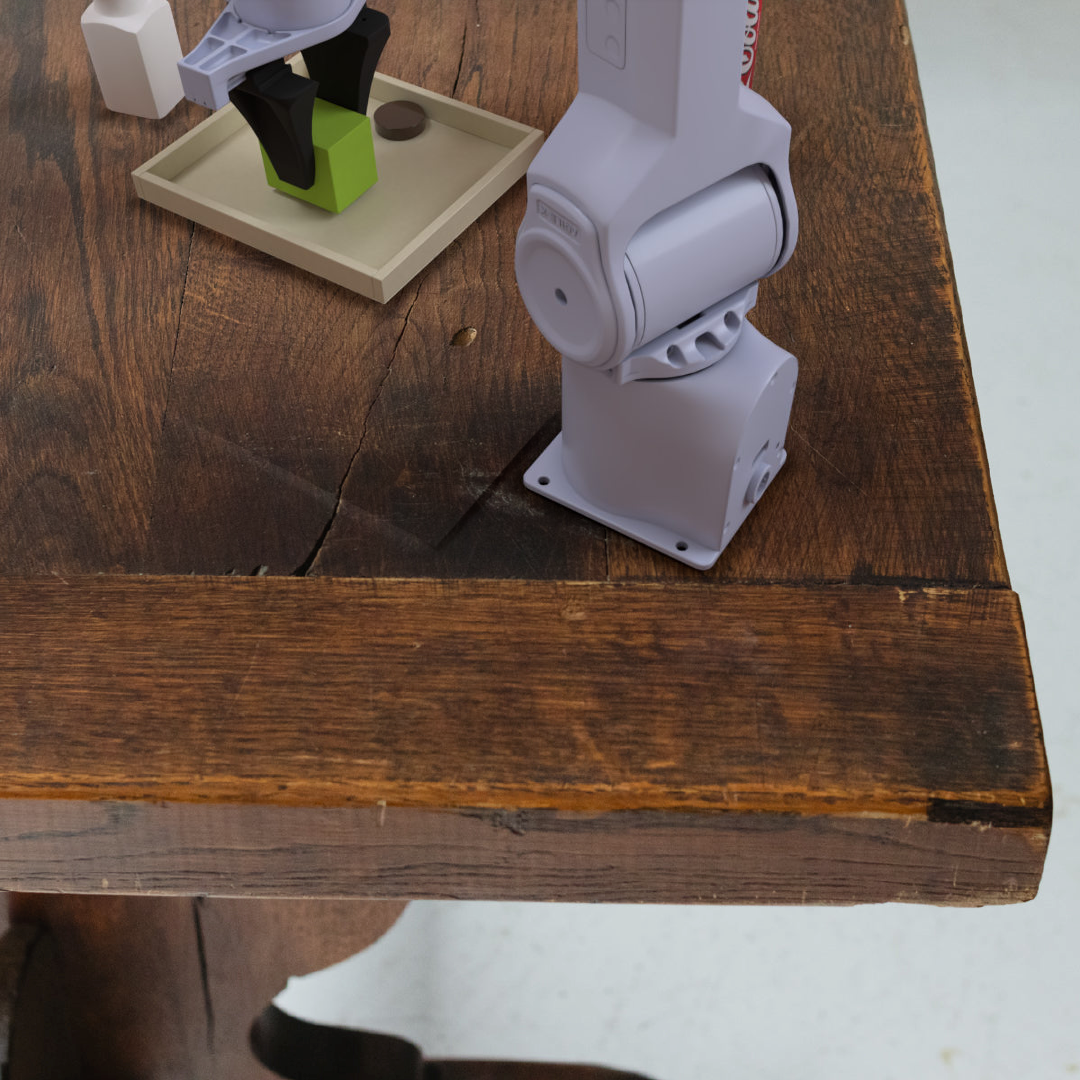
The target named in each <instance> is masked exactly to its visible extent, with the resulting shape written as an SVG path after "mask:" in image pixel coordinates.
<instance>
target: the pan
mask: <svg viewBox="0 0 1080 1080" xmlns="http://www.w3.org/2000/svg"><path fill="white" fill-rule="evenodd" d="M288 63H290V64H291V66H292V71H293V73H295V74H298V75H301V76H303V77H306V78H309V79H310V77H309V74H308V71H307V68H306V65H305V62H304V60H303V57H302V54H301V52H300V51H298V52H297V53H296V54H295V55H294V56H292V57H291V58H289V59H288V60H287V61H285V64H288ZM398 100H405V101H411V102H414V103H417V104H418V105H420V106H421V107H422V108H423V109H424V112H425V120H426V127H425V129H424V131H423V132H422V133H421V134H420V135H419V136H417V137H415V138H412V139H409V140H404V141H393V140H388V139H385V138H383V137H381V136H379V135H378V134H377V132H376V130H375V126H374V118H373V116H374V112H375V111H376V109H377V108H378V107H380V106H381V105H383V104H385V103H388V102H391V101H398ZM366 116H367V117H369V118H370V123H371V131H372V138H373V146H374V153H375V161H376V168H377V176H378V181H377V182H376V183H375V184H374V185H372V186H371V187H370V188H369V189H368V190H367V191H365V192H364V193H363V194H362V195H361V196H359V197H358V198H357V199H356V200H355V201H353V202H352V203H351V204H350V205H349V206H347V207H346V208H345V209H344V210H343V211H342V212H340V213H339V214H336V213H334V212H332V211H329V210H327V209H324V208H322V207H319V206H317V205H315V204H312V203H310V202H307V201H305V200H303V199H300V198H298V197H295V196H293V195H290V194H288V193H286V192H283V191H281V190H278V189H276V188H274V187H271V186H269V185H268V182H267V178H266V173H265V168H264V164H263V159H262V155H261V150H260V145H259V141H258V138H257V136H256V135H255V133H254V131H253V130H252V128H251V127H250V125H249V124H248V122H247V121H246V120H245V118H244V117H243V116H242V114H241V113H240V112H239V111H238V109H237V108H236V107H235V106H234V105H233V104H232V102H231V101H229V103H228V104H226V105H225V106H224V107H222V108H221V109H219V110H218V111H214V113H212V114H211V115H210V116H208V117H207V118H206V119H204V120H203V121H202V122H200V123H199V124H197V125H196V126H194V127H193V128H192V129H190V130H189V131H187V132H186V133H185V134H183V135H182V136H180V137H179V138H178V139H176V140H175V141H173V142H172V143H171V144H169V145H168V146H166V147H165V148H163V149H162V150H161V151H160V152H158V153H157V154H155V155H154V156H152V157H151V158H150V159H148V160H147V161H146V162H144V163H143V164H141V165H140V166H138V167H137V168H136V169H134V170H133V171H132V172H131V173H130V175H131V178H132V181H133V185H134V188H135V192H136V195H137V197H138V198H140V199H142V200H145V201H147V202H149V203H151V204H153V205H156V206H158V207H160V208H163V209H165V210H167V211H170V212H172V213H174V214H177V215H179V216H181V217H184V218H186V219H188V220H191V221H193V222H195V223H197V224H199V225H201V226H204V227H206V228H208V229H211V230H213V231H215V232H218V233H220V234H222V235H225V236H226V237H229V238H232V239H233V240H236V241H239V242H240V243H243V244H244V245H247V246H250V247H252V248H255V249H257V250H258V251H261V252H263V253H266V254H268V255H271V256H273V257H274V258H277V259H279V260H282V261H284V262H286V263H289V264H291V265H293V266H296V267H298V268H300V269H302V270H305V271H307V272H310V273H312V274H313V275H316V276H318V277H321V278H323V279H326V280H328V281H329V282H332V283H334V284H336V285H339V286H342V287H344V288H346V289H348V290H350V291H353V292H354V293H357V294H359V295H361V296H364V297H366V298H369V299H371V300H374V301H376V302H377V303H378V302H379V303H380V304H382V305H386V304H387V303H388V302H389V301H390V300H391V299H392V298H393V297H394V296H395V295H396V294H397V293H399V291H401V290H402V289H403V288H404V287H405V286H406V285H407V284H408V283H409V282H410V281H412V279H413V278H415V276H417V275H418V274H419V273H420V272H422V271H423V269H425V267H427V265H428V264H430V263H431V262H432V261H433V260H434V259H435V258H436V257H437V256H439V255H440V253H441V252H443V251H444V250H445V249H446V248H447V247H448V246H449V245H450V244H451V243H453V241H455V240H456V238H458V237H459V236H460V235H461V234H462V233H463V232H464V231H465V230H466V229H467V228H468V227H469V226H470V225H472V224H473V222H475V221H476V220H477V219H478V218H479V217H480V216H481V215H482V214H484V212H485V211H486V210H488V208H490V207H491V206H492V205H493V204H494V203H495V202H496V201H498V199H500V197H502V196H503V195H504V194H505V193H506V192H507V191H509V189H510V188H511V187H513V185H515V184H516V183H517V181H519V180H520V179H521V178H522V177H523V176H524V175H525V174H527V170H528V168H529V166H530V164H531V163H532V161H533V160H534V158H535V157H536V155H537V154H538V152H539V151H540V149H541V148H542V146H543V145H544V143H545V131H544V130H541V129H538V128H535V127H532V126H531V125H527V124H524V123H521V122H519V121H516V120H513V119H510V118H507V117H505V116H502V115H499V114H496V113H493V112H490V111H488V110H485V109H482V108H479V107H477V106H474V105H471V104H468V103H465V102H462V101H459V100H457V99H454V98H451V97H448V96H446V95H443V94H440V93H438V92H435V91H432V90H429V89H426V88H423V87H421V86H417V85H415V84H412V83H410V82H406V81H404V80H401V79H398V78H395V77H393V76H390V75H388V74H384V73H381V72H380V71H379V72H378V71H376V70H375V74H374V77H373V81H372V85H371V89H370V95H369V101H368V107H367V114H366Z"/></svg>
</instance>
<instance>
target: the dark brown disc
mask: <svg viewBox="0 0 1080 1080" xmlns="http://www.w3.org/2000/svg"><path fill="white" fill-rule="evenodd" d="M373 118H374V126H375V130H376V132H377V134H378V135H379V136H381V137H383V138H385V139H388V140H393V141H404V140H409V139H412V138H415V137H417V136H419V135H420V134H421V133H422V132H423V131H424V129H425V127H426V120H425V112H424V109H423V108H422V107H421V106H420V105H418V104H417V103H414V102H411V101H405V100H398V101H391V102H388V103H385V104H383V105H381V106H380V107H378V108H377V109H376V111H375V112H374V116H373Z"/></svg>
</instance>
